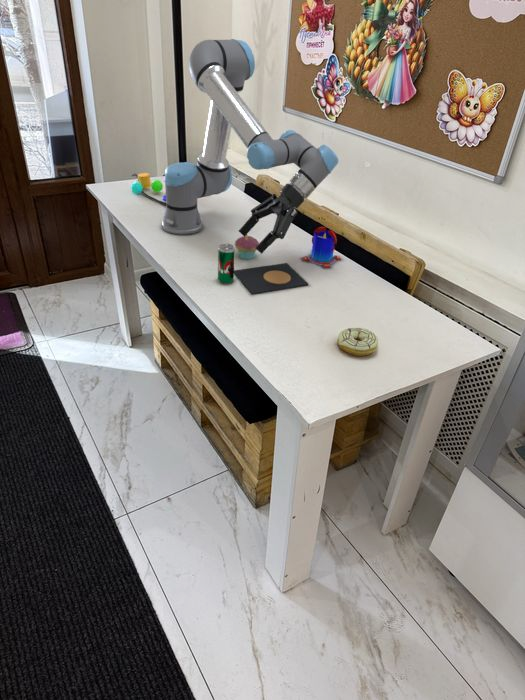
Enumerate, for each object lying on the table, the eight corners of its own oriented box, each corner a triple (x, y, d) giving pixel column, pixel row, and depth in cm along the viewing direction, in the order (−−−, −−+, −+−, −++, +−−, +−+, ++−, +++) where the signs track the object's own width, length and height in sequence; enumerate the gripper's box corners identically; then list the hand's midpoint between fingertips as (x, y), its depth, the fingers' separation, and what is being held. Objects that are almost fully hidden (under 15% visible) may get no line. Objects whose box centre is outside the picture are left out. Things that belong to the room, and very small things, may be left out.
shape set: (133, 188, 235) (130, 172, 230) (208, 182, 239) (207, 166, 235) (131, 211, 211) (128, 193, 207) (215, 204, 216) (213, 187, 212)
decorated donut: (340, 332, 143) (343, 321, 141) (378, 341, 141) (381, 329, 138) (333, 352, 135) (335, 340, 133) (373, 361, 132) (376, 350, 130)
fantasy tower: (343, 258, 183) (348, 227, 176) (328, 269, 175) (333, 237, 168) (314, 249, 188) (319, 218, 181) (299, 260, 180) (302, 227, 173)
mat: (233, 272, 169) (233, 269, 168) (286, 264, 176) (286, 262, 176) (251, 294, 157) (252, 292, 157) (308, 285, 165) (308, 283, 164)
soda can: (235, 279, 165) (237, 244, 158) (230, 285, 161) (231, 251, 154) (221, 275, 166) (222, 241, 159) (215, 282, 162) (215, 247, 155)
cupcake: (255, 263, 175) (257, 230, 168) (231, 259, 177) (232, 226, 170) (260, 253, 182) (262, 221, 175) (237, 249, 183) (238, 217, 176)
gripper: (272, 170, 162) (227, 220, 166) (309, 196, 144) (258, 251, 148) (285, 186, 168) (241, 234, 171) (323, 212, 149) (273, 265, 153)
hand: (249, 242), depth 159 cm, fingers open, 13 cm apart
